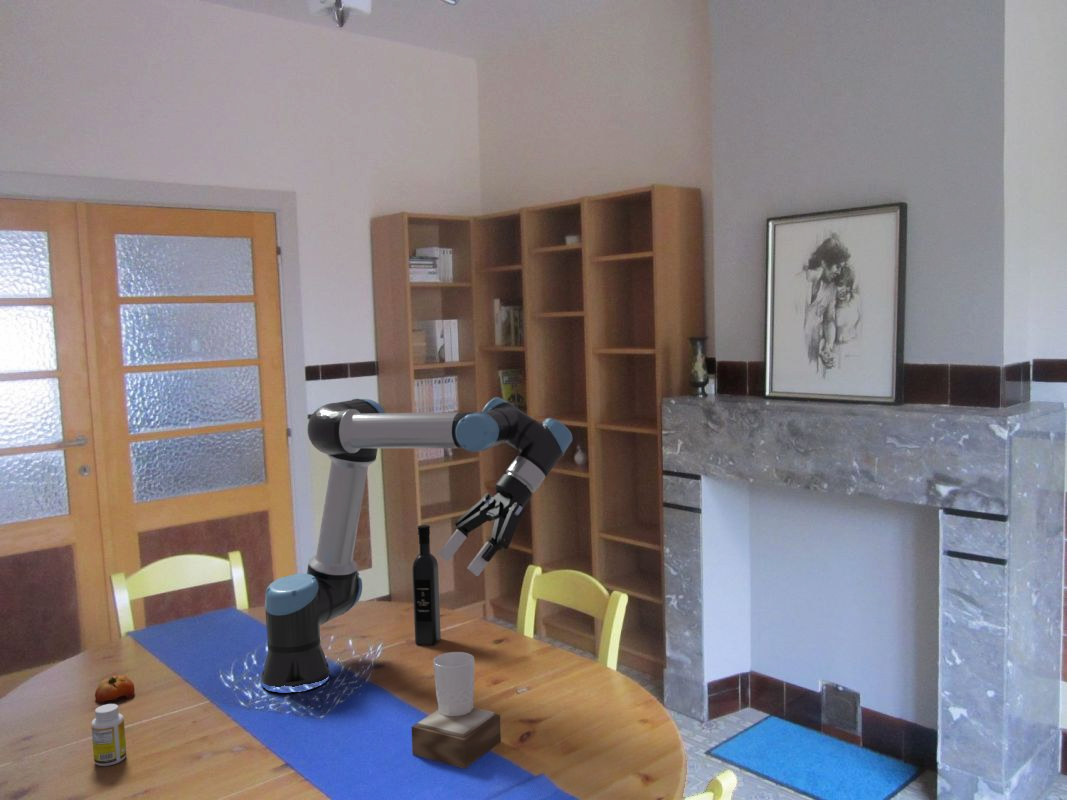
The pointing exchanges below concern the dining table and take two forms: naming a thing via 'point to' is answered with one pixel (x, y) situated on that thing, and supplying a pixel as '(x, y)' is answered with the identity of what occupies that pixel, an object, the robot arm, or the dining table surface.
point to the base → (456, 737)
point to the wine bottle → (426, 592)
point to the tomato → (114, 688)
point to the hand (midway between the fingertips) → (456, 565)
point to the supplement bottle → (108, 735)
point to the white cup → (454, 683)
